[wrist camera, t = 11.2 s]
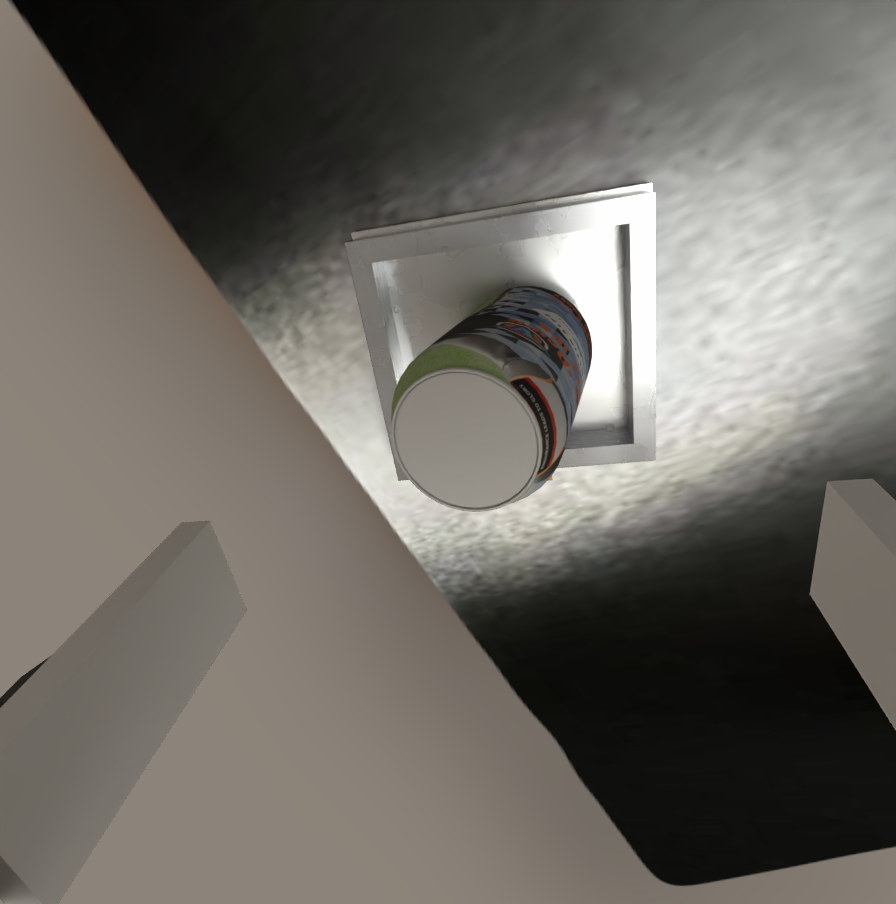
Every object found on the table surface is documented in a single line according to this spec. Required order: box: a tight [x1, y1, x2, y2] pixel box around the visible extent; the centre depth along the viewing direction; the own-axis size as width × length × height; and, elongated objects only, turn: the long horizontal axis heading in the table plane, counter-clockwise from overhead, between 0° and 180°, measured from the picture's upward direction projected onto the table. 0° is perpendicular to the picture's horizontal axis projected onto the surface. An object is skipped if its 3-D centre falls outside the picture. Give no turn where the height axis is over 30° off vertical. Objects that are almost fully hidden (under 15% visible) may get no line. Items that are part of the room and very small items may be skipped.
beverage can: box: [391, 286, 593, 512], centre depth 22 cm, size 6×7×12 cm
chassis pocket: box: [345, 182, 656, 481], centre depth 27 cm, size 12×14×4 cm
